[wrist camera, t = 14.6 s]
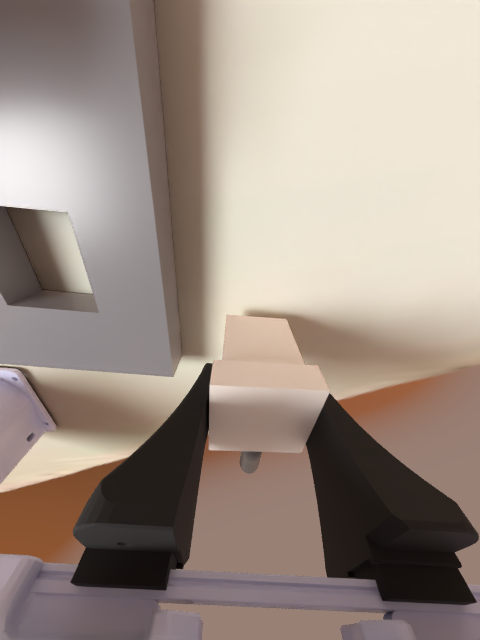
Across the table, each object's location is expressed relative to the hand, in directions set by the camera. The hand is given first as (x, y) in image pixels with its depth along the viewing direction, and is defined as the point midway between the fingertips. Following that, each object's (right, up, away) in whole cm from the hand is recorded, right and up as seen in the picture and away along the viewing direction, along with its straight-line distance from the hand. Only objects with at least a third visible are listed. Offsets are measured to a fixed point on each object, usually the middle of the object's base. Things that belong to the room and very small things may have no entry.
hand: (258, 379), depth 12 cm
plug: (0, +1, +4) cm, 4 cm away
